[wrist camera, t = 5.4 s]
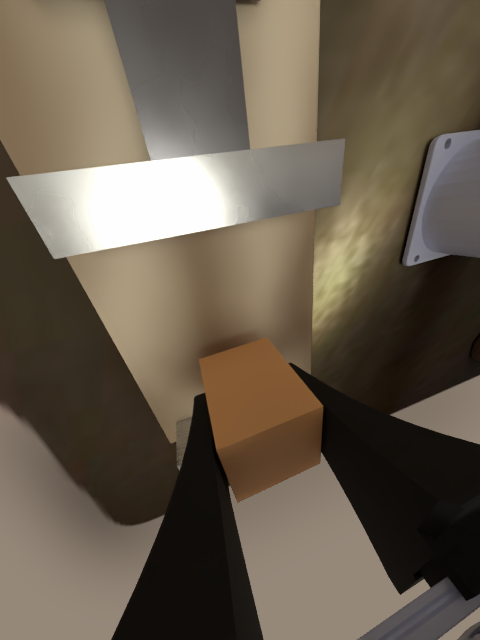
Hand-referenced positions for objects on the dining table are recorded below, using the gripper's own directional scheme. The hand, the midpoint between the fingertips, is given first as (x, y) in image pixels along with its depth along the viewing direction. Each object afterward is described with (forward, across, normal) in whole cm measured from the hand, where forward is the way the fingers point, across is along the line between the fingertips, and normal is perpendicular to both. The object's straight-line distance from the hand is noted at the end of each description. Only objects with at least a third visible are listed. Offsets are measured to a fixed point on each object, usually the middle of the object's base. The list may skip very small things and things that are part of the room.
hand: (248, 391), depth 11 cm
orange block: (+2, 0, 0) cm, 2 cm away
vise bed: (+5, 0, -4) cm, 6 cm away
